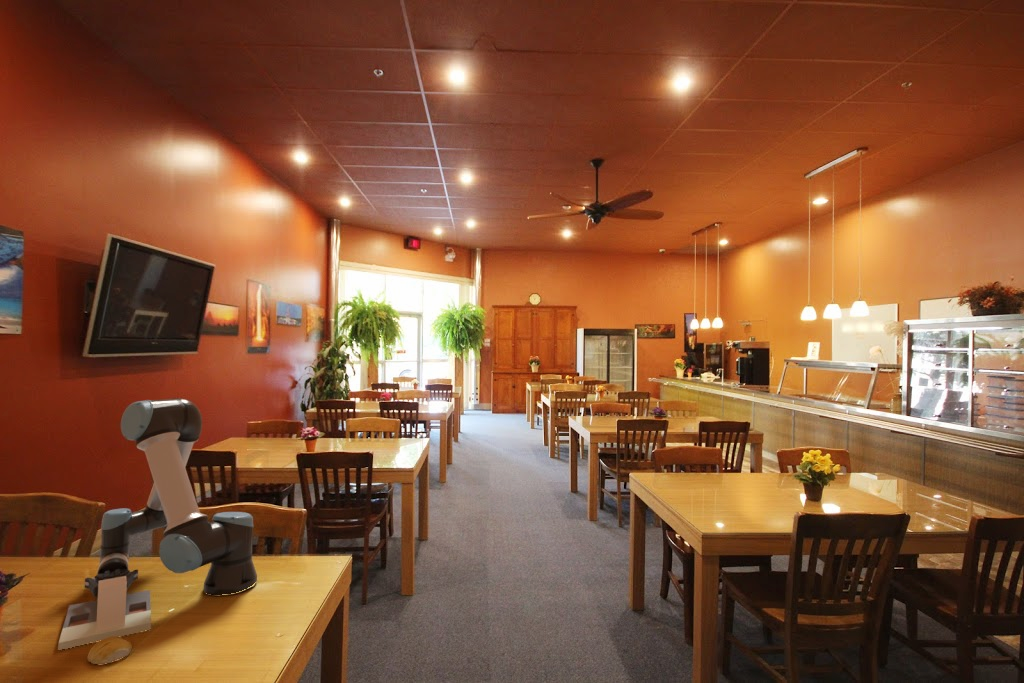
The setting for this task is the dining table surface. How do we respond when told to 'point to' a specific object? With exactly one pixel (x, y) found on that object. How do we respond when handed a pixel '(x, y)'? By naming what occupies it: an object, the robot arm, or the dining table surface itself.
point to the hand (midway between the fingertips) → (109, 599)
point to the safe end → (88, 631)
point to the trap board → (88, 610)
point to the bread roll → (109, 650)
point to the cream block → (111, 603)
